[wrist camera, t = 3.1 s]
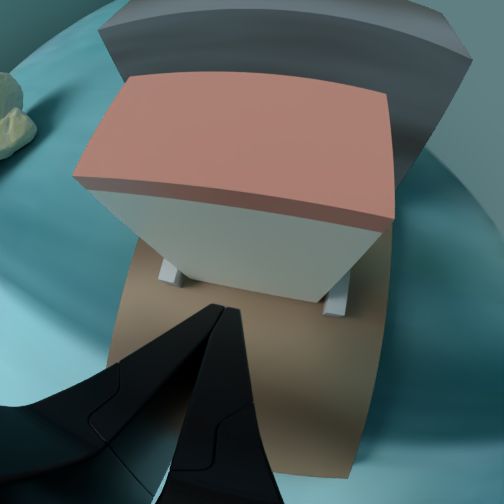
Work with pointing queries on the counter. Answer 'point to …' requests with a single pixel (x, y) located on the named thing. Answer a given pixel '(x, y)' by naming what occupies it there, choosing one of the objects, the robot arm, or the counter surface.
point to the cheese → (13, 118)
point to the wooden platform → (364, 270)
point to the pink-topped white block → (247, 176)
